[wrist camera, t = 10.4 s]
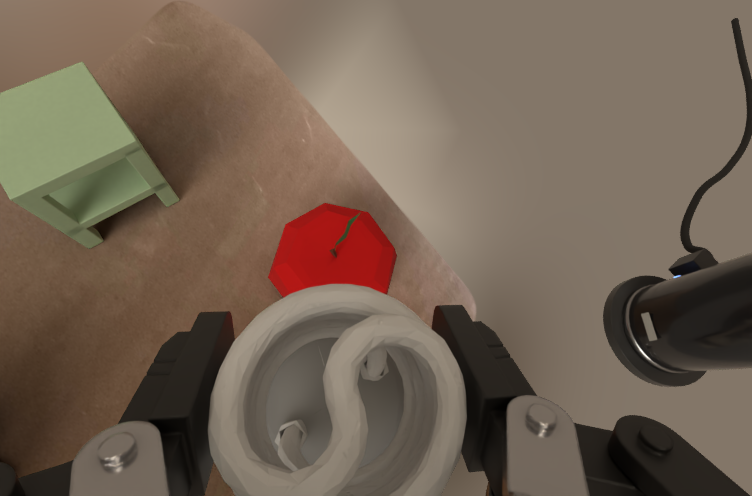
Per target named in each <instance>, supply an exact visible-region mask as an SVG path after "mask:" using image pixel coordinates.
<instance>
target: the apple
mask: <svg viewBox="0 0 752 496" xmlns="http://www.w3.org/2000/svg"><path fill="white" fill-rule="evenodd" d="M396 257H397V255H396V252H395V249H394V247H393V245H392V244H391V243H390V241H389V240H388V239H387V237H386V236H385V234H384V233H383V232H382V230H381V229H380V228H379V226H378V225H377V223H376V222H375V221H374V219H373V218H372V217H371V215H370V214H369V213H368V212H364V211H359V210H355V209H350V208H346V207H341V206H336V205H332V204H327V203H324V204H322V205H320V206H319V207H317V208H315V209H313V210H311V211H309V212H308V213H306V214H304V215H302V216H300V217H298V218H297V219H295V220H293V221H291V222H289V223H287V224H286V225H285V228H284V231H283V234H282V237H281V240H280V243H279V246H278V249H277V252H276V255H275V258H274V261H273V264H272V267H271V270H270V273H269V276H268V278H269V279H270V280H271V282H272V283H273V284H274V286H275V287H276V288H277V290H278V291H279V292H280V294H281V295H282V296H283V298H284V297H286V296H287V295H289V294H291V293H294V292H297V291H300V290H303V289H305V288H309V287H315V286H321V285H328V284H353V285H359V286H365V287H370V288H372V289H374V290H377V291H379V292H381V293H384V294H386V295H387V292H388V288H389V284H390V281H391V277H392V273H393V269H394V265H395V261H396Z"/></svg>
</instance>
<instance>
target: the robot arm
mask: <svg viewBox="0 0 752 496" xmlns="http://www.w3.org/2000/svg"><path fill="white" fill-rule="evenodd" d="M731 23H732V28H733V33H734V39H735V44H736V48H737V54H738V59H739V64H740V68H741V72H742V76H743V80H744V85H745V91H746V102H747V121H746V127H745V132H744V135H743V138H742V141H741V144H740V146H739V148H738V149H737V151H736V153H735V154H734V155H733V157H732V158H731V159H730V161H729V162H728V163H727V165H726V166H725V167H724V168H723V169H722V170H721V171H720V172H719V173H717V174H716V175H715V176H713V177H712V178H710V179H709V180H708V181H706V182H705V183H704V184H703V185H702V186H701V187H700V188H699V189H698V190H697V191H696V193H695V195H694V196H693V198H692V200H691V202H690V204H689V206H688V208H687V210H686V213H685V215H684V218H683V221H682V225H681V232H680V233H681V234H680V236H681V241H682V244H683V246H684V248H685V249H686V250H687V251H688V252H690V253H692V254H689V255H687V256H684V257H681V258H679V259H678V260H677V261H676V262H675V263H674V264H673V265H672V266H671V267H670V268H669V271H671V273H672V274H673V275H674V276H675V277H674V278H673V279H669V280H666V281H663V282H660V283H657V284H653V285H648V286H645V287H642V288H639V289H637V290H635V291H634V292H632V293H631V294H630V295H629V296H628V298H627V299H626V301H625V303H624V306H623V310H622V324H623V329H624V333H625V335H626V338H627V340H628V342H629V344H630V345H631V347H632V349H633V350H634V351H635V353H636V354H637V355H638V356H639V357H640V358H641V359H642V360H643V361H644V362H646V363H647V364H648V365H650V366H651V367H653V368H655V369H657V370H659V371H662V372H666V373H687V372H691V371H708V370H709V371H710V370H726V369H743V368H752V253H749V254H746V255H743V256H740V257H737V258H734V259H731V260H728V261H725V262H722V263H718V262H717V261H716V260H715V259H714V257H713V255H712V254H711V253H710V252H709V251H708V250H707V249H705V248H702V247H695V246H693V245H692V243H691V241H690V236H689V228H690V223H691V220H692V217H693V214H694V212H695V210H696V208H697V205H698V204H699V202H700V199H701V198H702V196H703V195H704V193H705V192H706V191H707V190H708V189H709V188H710V187H711V186H712V185H714V184H715V183H717V182H718V181H719V180H721V179H722V178H723V177H725V176H726V175H727V174H728V173H729V172H730V171H731V170H732V168H733V167H734V166H735V164H736V163H737V162H738V161H739V159H740V158H741V156H742V155H743V153H744V152H745V150H746V148H747V146H748V144H749V141H750V139H751V135H752V79H751V75H750V71H749V67H748V63H747V59H746V55H745V50H744V45H743V40H742V35H741V30H740V25H739V20H738V18H735V19H733V20H732V21H731ZM432 330H433V331H434V332H436V333H437V334H438V335H439V336H440V337H442V338H443V339H444V340H445V342H446V344H447V345H448V347H449V349H450V350H451V352H452V354H453V356H454V357H455V359H456V361H457V363H458V366H459V368H460V370H461V373H462V375H463V380H464V385H465V390H466V408H467V421H466V427H465V433H464V439H463V444H462V449H461V452H462V455H463V458H464V460H465V463H466V466H467V469H468V471H469V472H476V471H485V474H486V476H487V479H488V481H489V482H488V486H487V490H486V496H750V495H749V494H748V493H746V492H745V491H744V490H743V489H742V488H740V487H739V486H738V485H737V484H736V483H735V482H733V481H732V480H731V479H730V478H729V477H728V476H726V475H725V474H724V473H723V472H722V471H720V470H719V469H718V468H717V467H716V466H714V465H713V464H712V463H711V462H710V461H709V460H708V459H706V458H705V457H704V456H703V455H702V454H701V453H699V452H698V451H697V450H696V449H695V448H693V447H692V446H691V445H690V444H689V443H688V442H686V441H685V440H684V439H683V438H682V437H681V436H679V435H678V434H677V433H676V432H674V431H673V430H671V429H670V428H668V427H667V426H665V425H663V424H661V423H659V422H657V421H655V420H652V419H650V418H646V417H642V416H635V415H629V416H624V417H622V418H620V419H619V420H618V421H617V423H616V425H615V428H614V430H613V431H610V430H604V429H599V428H595V427H590V426H585V425H580V424H576V423H573V421H572V419H571V418H570V416H569V415H568V414H567V413H566V412H565V411H564V410H563V409H562V408H561V407H559V406H558V405H556V404H555V403H553V402H551V401H549V400H547V399H544V398H541V397H538V396H537V395H536V394H535V392H534V391H533V389H532V388H531V386H530V385H529V383H528V382H527V380H526V379H525V377H524V376H523V374H522V372H521V371H520V369H519V368H518V366H517V365H516V363H515V362H514V360H513V359H512V358H510V354H509V353H508V351H507V350H506V348H505V347H503V344H502V342H501V341H500V339H499V338H498V336H497V335H496V333H495V332H494V331H492V330H491V329H490V328H489V327H487V326H486V325H485V324H483V323H482V322H481V321H480V322H473V321H472V320H471V318H470V316H469V315H468V313H467V311H466V310H465V308H464V307H463V306H462V305H442V306H436V307H435V309H434V315H433V322H432ZM234 341H235V338H234V330H233V322H232V316H231V313H230V312H229V311H228V312H201V313H199V315H198V317H197V319H196V321H195V323H194V325H193V327H192V329H191V331H190V332H177V333H176V334H175V335H174V336H173V337H171V338H170V339H169V340H168V341H167V342H165V343H164V344H163V345H162V347H161V348H160V350H159V352H158V354H157V356H156V357H155V359H154V363H152V364H151V366H150V368H149V370H148V371H147V376H145V377H144V379H143V380H142V382H141V384H140V386H139V387H138V389H137V391H136V393H135V395H134V396H133V398H132V400H131V402H130V403H129V405H128V407H127V409H126V410H125V412H124V414H123V416H122V418H121V419H120V421H119V423H118V424H117V425H115V426H112V427H110V428H108V429H106V430H104V431H102V432H100V433H99V434H97V435H96V436H94V437H93V438H92V439H90V440H89V441H88V442H87V443H86V444H85V445H84V446H83V447H82V448H81V450H80V451H79V452H78V454H77V455H76V457H75V459H74V460H72V461H70V462H67V463H64V464H62V465H58V466H55V467H52V468H49V469H46V470H43V471H39V472H36V473H33V474H30V475H27V476H24V477H21V478H17V475H16V473H15V471H14V469H13V468H12V467H11V466H10V465H8V464H6V463H1V462H0V496H204V495H205V491H206V488H207V484H208V480H209V476H210V473H211V469H212V465H213V461H214V460H213V458H212V456H211V453H210V446H209V438H208V421H209V409H210V398H211V393H212V390H213V387H214V384H215V381H216V378H217V375H218V372H219V369H220V367H221V365H222V363H223V361H224V359H225V357H226V355H227V353H228V351H229V350H230V348H231V346H232V344H233V342H234Z"/></svg>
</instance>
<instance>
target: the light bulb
mask: <svg viewBox="0 0 752 496" xmlns="http://www.w3.org/2000/svg"><path fill="white" fill-rule="evenodd" d="M466 421H467V408H466V390H465V385H464V380H463V375H462V373H461V370H460V368H459V366H458V363H457V361H456V359H455V357H454V356H453V354H452V352H451V350H450V349H449V347H448V345H447V344H446V342H445V340H444V339H443V338H442V337H440V336H439V335H438V334H437V333H436V332H434V331H433V330H432V329H431V328H430V327H429V326H427V325H426V324H425V323H424V322H423V321H422V319H421V318H420V317H419V316H418V315H417V314H416V313H415V312H414V311H412V310H411V309H409V308H408V307H407V306H405V305H404V304H403V303H401V302H400V301H398V300H397V299H395V298H393V297H391V296H388V295H386V294H384V293H381V292H379V291H377V290H374V289H372V288H370V287H365V286H359V285H353V284H328V285H321V286H315V287H309V288H305V289H303V290H300V291H297V292H294V293H291V294H289V295H287V296H286V297H284V298H282V299H281V300H279V301H277V302H275V303H274V304H272V305H270V306H269V307H267V308H266V309H265V310H264V311H262V312H261V313H260V314H258V315H257V316H256V317H255V318H254V319H253V320H252V321H251V323H250V324H249V325H248V326H247V327H246V328H245V329H244V331H243V332H242V333H241V334H240V335H239V336H238V338H237V339H236V340H235V341H234V342H233V344H232V346H231V348H230V350H229V351H228V353H227V355H226V357H225V359H224V361H223V363H222V365H221V367H220V369H219V372H218V375H217V378H216V381H215V384H214V387H213V390H212V393H211V398H210V409H209V421H208V438H209V446H210V453H211V456H212V458H213V460H214V462H215V464H216V466H217V468H218V470H219V472H220V474H221V476H222V478H223V480H224V481H225V482H226V483H227V484H228V485H229V486H230V487H231V488H232V490H233V492H234V494H235V496H441V494H442V492H443V490H444V488H445V486H446V484H447V482H448V480H449V478H450V476H451V474H452V473H453V471H454V469H455V467H456V465H457V463H458V461H459V458H460V453H461V449H462V444H463V439H464V433H465V427H466Z"/></svg>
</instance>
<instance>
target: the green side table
mask: <svg viewBox="0 0 752 496" xmlns="http://www.w3.org/2000/svg"><path fill="white" fill-rule="evenodd" d="M0 183H1V184H2V186H3V188H4V190H5V192H6V193H7V195H8V197H9V199H10V200H12V201H13V202H15V203H17V204H18V205H20V206H21V207H23V208H25V209H26V210H28V211H29V212H31V213H33V214H34V215H36V216H37V217H39V218H41V219H42V220H44V221H45V222H47V223H49V224H50V225H52V226H53V227H55V228H57V229H58V230H60V231H61V232H63V233H65V234H66V235H68V236H69V237H71V238H73V239H74V240H76V241H77V242H79V243H81V244H82V245H84V246H85V247H87V248H89V249H90V248H92V247H94V246H96V245H98V244H100V243H102V242H103V241H104V240H103V239H102V237H101V235H100V234H99V232H98V231H97V230H96V229H95V228H93V227H92V225H94V224H96V223H98V222H100V221H102V220H104V219H106V218H108V217H110V216H112V215H113V214H115V213H117V212H119V211H121V210H123V209H125V208H127V207H129V206H131V205H133V204H135V203H137V202H139V201H140V200H142V199H144V198H146V197H148V196H150V195H152V194H154V193H155V194H156V195H157V196H158V197H159V198H160V200H161V201H162V202H163V203H164V204H165V206H166V207H169V206H171V205H172V204H174V203H176V202H178V201H180V199H179V198H178V196H177V195H176V193H175V192H174V190H173V189H172V188H171V186H170V185H169V184H168V182H167V181H166V179H165V178H164V177H163V175H162V174H161V172H160V171H159V170H158V168H157V167H156V165H155V164H154V162H153V161H152V159H151V158H150V156H149V155H148V153H147V152H146V151H145V149H144V148H143V146H142V144H141V142H140V141H139V139H138V138H137V137H136V135H135V134H134V132H133V131H132V130H131V128H130V127H129V125H128V124H127V123H126V121H125V120H124V118H123V117H122V116H121V114H120V113H119V111H118V110H117V109H116V107H115V106H114V104H113V103H112V102H111V100H110V99H109V97H108V96H107V95H106V93H105V92H104V91H103V89H102V88H101V86H100V85H99V84H98V82H97V81H96V79H95V78H94V77H93V75H92V74H91V72H90V71H89V70H88V68H87V67H86V66H85V64H84V63H83V62H80V63H77V64H74V65H72V66H69V67H67V68H65V69H62V70H59V71H56V72H54V73H51V74H49V75H46V76H44V77H41V78H38V79H36V80H33V81H31V82H28V83H25V84H23V85H20V86H17V87H15V88H12V89H10V90H7V91H5V92H2V93H0Z"/></svg>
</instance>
